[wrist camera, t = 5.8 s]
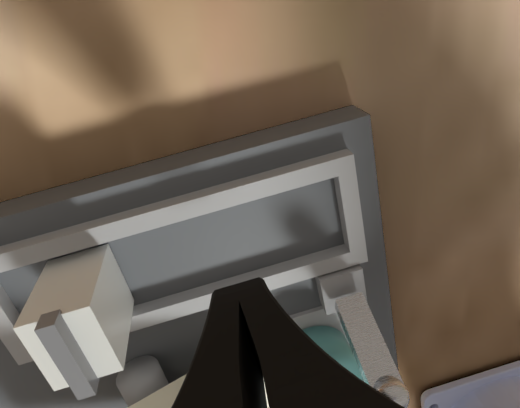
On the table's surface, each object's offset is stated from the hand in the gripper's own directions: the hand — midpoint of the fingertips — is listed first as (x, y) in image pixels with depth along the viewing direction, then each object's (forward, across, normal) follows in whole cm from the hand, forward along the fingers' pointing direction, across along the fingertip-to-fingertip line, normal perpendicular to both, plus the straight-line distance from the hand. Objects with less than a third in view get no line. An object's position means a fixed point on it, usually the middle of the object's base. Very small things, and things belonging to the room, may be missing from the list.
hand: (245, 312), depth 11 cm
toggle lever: (+3, -3, +3) cm, 5 cm away
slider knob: (+4, +5, 0) cm, 6 cm away
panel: (+5, +3, +3) cm, 7 cm away
